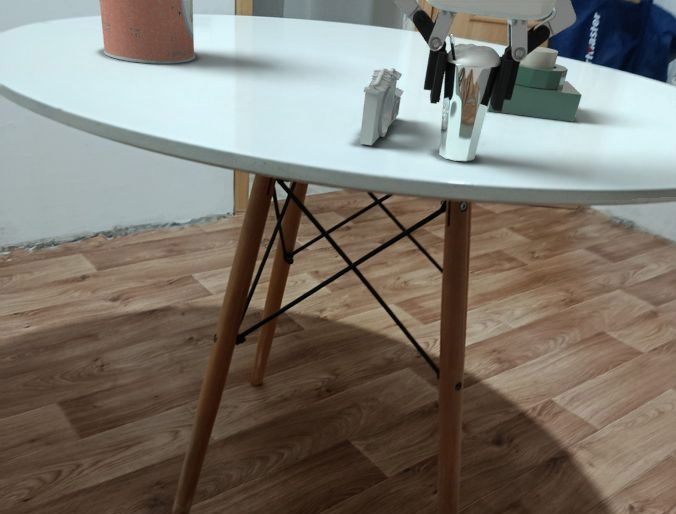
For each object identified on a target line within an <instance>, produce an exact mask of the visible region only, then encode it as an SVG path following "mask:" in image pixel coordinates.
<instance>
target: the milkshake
mask: <svg viewBox="0 0 676 514" xmlns="http://www.w3.org/2000/svg"><path fill="white" fill-rule="evenodd" d="M448 34H449V35H448V36H449V45H450V50H448V51H447V54H448V56H447V62H446V67H445V73H444V79H443V100H442V112H441V127H440V138H439V151H438V154H439V156H440V157H442V158H444V159H446V160H450V161H456V162H469V161H473V160H475V158H476V154H477V151H478V147H479V143H480V139H481V134H482V132H483V131H482V130H483V128H484V124H485V123H484V122H485V120H486V115H487V112H488V109H487V108H488V104H489V101H490V98H491V95H492V91H493V88H494V84H495V81H496V77H497V74H498V70H499V67H500V64H501V58H500V54H499V53H498V52H497V51H496V50H495V49H494V48H493V47H490V46H487V45H477V44H474V43H458V44H456V42H455V35H454V34H451V33H448Z"/></svg>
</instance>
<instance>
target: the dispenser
mask: <svg viewBox="0 0 676 514" xmlns="http://www.w3.org/2000/svg"><path fill="white" fill-rule="evenodd" d="M568 71H569V69H568V68H567V67H566V66H564V65H561V64H557V63H555V67H554V69H545V68H537V67H531V66H527V65H523V64H520V65H519V69H518V73H517V78H516V82H515V86H514V90H513V94H512V98H511V100H504V103H503V107H502V111H501V112H499V113H500V114H510V115H517V116H523V117H524V116H525V117H533V118H540V119H548V120H556V121H563V122H572V123H573V122H575V120H576V116H577V113H578V110H579V106H580V102H581V99H582V94H581V93H580V92H579V91H578V90H577V89H576V88H575V86H573V84H571V83H570V82H569V81H568V80H566V78H567V74H568ZM487 112H492V113H498V112H497V111H494V109H492V107H491V104H490V101H489V104H488V108H487Z"/></svg>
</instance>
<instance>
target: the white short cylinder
mask: <svg viewBox="0 0 676 514" xmlns="http://www.w3.org/2000/svg"><path fill="white" fill-rule="evenodd" d="M558 56H559V51H558V50H556V49H554V48H553V49H552V48H549V47H544V46H539V47H537V48H536V49H535V50H533V51H532V52H531V53H529V54H528V55H527V56H526V58H525V59H524V60H522V61H520V64H523V65H527V66H531V67H537V68H545V69H554V67H555V64H557V63H556V62H557V59H558Z"/></svg>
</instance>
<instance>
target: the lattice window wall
mask: <svg viewBox="0 0 676 514" xmlns="http://www.w3.org/2000/svg"><path fill="white" fill-rule="evenodd" d="M402 75H403V73H401V72H400V71H398V70H396V68H394V67H392V68H391V69H387V68H382V69H374V70H373V74H371V77H372V78H371V80H370V82H369V84H368V85H367V86H364V87H363V93H364V101H363V109H362V110H363V111H362V119H361V127H360V128H361V129H360V134H359V135H360V136H359V145H360V144H361V145H366V146H373V145H374V144H375V142H377V140H378V139H379V138H380V137H382V138H384V137H385V136H386V134H387V132H388V130H389V127H390V126H391V124H392V123H393V122H394V121H395V120H396V119H397V117H398V115H399V113H400V112H399V111H400V105H401V100H402V99H401V98H402V95H403V93H404V92H405V91H404V90H403V89H401V88H399V87H397V81H399V80H400V78H402Z"/></svg>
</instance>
